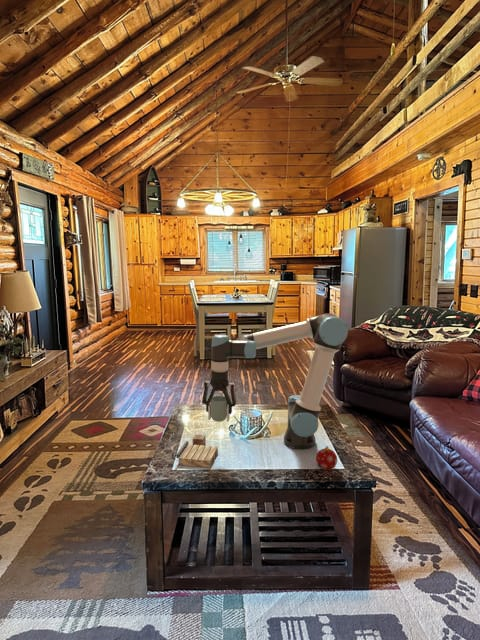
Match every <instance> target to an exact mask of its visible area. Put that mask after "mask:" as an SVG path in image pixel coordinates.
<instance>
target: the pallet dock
mask: <svg viewBox="0 0 480 640" xmlns="http://www.w3.org/2000/svg"><path fill="white" fill-rule="evenodd" d="M218 454H219V449H218V446H213V445H205V446H204V445H193V443H189V440H186V441H185V442H184V443H183V444H182V446H181V448H180V449H179V450H178V452H177V453H176V454H175V456H176V459H178V465H180V466H188V467H189V466H192V467H201V468H202V467H203V468H211V467H212V463H213V462H214V461H215V459H216V456H217V455H218Z"/></svg>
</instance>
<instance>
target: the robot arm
mask: <svg viewBox="0 0 480 640" xmlns="http://www.w3.org/2000/svg"><path fill="white" fill-rule="evenodd" d="M348 329H349V328H348V326H347V324H346V322H345V321H344V319H342V318H341V317H339V316H338V315H336V314H334V313H331V312H330V313H323V314H319V315H315V316H312V317H309V318H306V320H305V321H301V322H296V323H293V324H288V325H284V326H279V327H274V328H272V329H271V328H270V329H266V330H262V331H257V332H253V333H250V334H245V333H244V334H241V335H239V336H238V337H237V338H236V339H235V340H234V339H233V340H232V339H230V337H229V335H227V334H215V335H213V336H212V337H211V363H210V364H211V365H210V366H211V368H210V369H211V372H210V373H211V374H210V381H209V380H205V382H204V383H203V385H204V389H203V394H202V401H201V403H202V404H204V405H205V411H206V413H207V420H208V421H211V420H212V417H211V411H210V402H211V398H212V397H214V395H215V393H216V392H218V391H219V392H222V394H223V396H224V397H225V399H226V400H227V404H228V407H227V417H226V422H229V421H230V417H231V416H230V415H231V414H232V413H233V407H235V406H236V405H237V399H236V392H235V387H236V383H234V382H230V381H229V358H236V359H237V358H238V359H239V358H240V359H241V358H243V359H255V357H256V355H257V350H259V349H263V348H267V347H272V346H276V345H281V344H286V343H290V342H294V341H299V340H303V339H307V338H310V339H312V340H313V339H314V340H313V344H314V346H315V347H314V352H313V355H312V358H311V361H310V364H309V367H308V370H307V373H306V378H305V380H304V385H303V387H302V390H301V392H300V393H301V394H294V395H293V394H292V395H290V396H288V400H287V427H286V430H285V433H284V436H283V444H284V445H285V446H286V447H289V448H291V449H295V450H296V449H297V450H308V449H312V448H314V447H315V445H316V441H317V440H316V437H315V434H316V432H317V431H318V428H319V418H320V417H319V416H320V414H321V410H322V407H321V406H320V402H321V398H322V396H323V392H324V389H325V385H326V383H327V380H328V377H329V374H330V373H329V372H330V371H331V367H332V364H333V360H334V357H335V353H337V352H339V351H340V350H341V348H342V344H343V343H344V342H345V340H346V339H347V337H348V333H349V332H348V331H349V330H348ZM210 386H211V387H212V389H211V391H210V393H209V395H208V392H209V387H210ZM228 387H229V389H230V395H229V391H228V389H227V388H228ZM230 397H231V398H230Z"/></svg>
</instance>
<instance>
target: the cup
mask: <svg viewBox="0 0 480 640" xmlns="http://www.w3.org/2000/svg"><path fill="white" fill-rule="evenodd" d="M227 407H228V404H227V400H226V399H225V396H224V395H215V396H214V395H213V397H212V398H211V402H210V411H211V420H212V421H214V422H217V423H218V422H219V423H221V422H224V421H226V420H227Z"/></svg>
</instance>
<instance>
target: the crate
mask: <svg viewBox="0 0 480 640" xmlns="http://www.w3.org/2000/svg"><path fill="white" fill-rule="evenodd" d="M206 443H207V442H206V434H197V433H196V434H194V435H193V437H192V445H204V446H207V445H206Z"/></svg>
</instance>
